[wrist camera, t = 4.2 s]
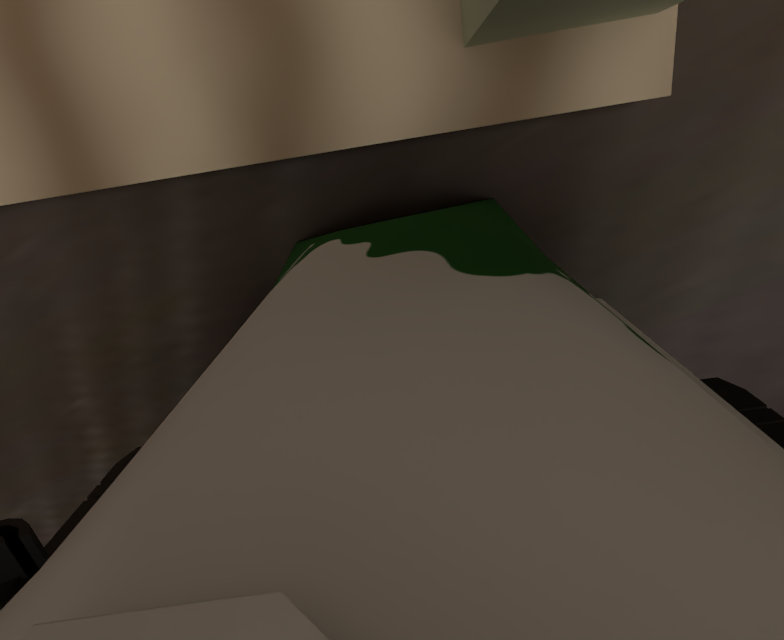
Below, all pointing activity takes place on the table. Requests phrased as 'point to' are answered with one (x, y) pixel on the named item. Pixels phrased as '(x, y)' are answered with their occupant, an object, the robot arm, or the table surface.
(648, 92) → the shelf board
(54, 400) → the table surface
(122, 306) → the table surface
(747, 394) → the robot arm
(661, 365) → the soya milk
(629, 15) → the tea tin
